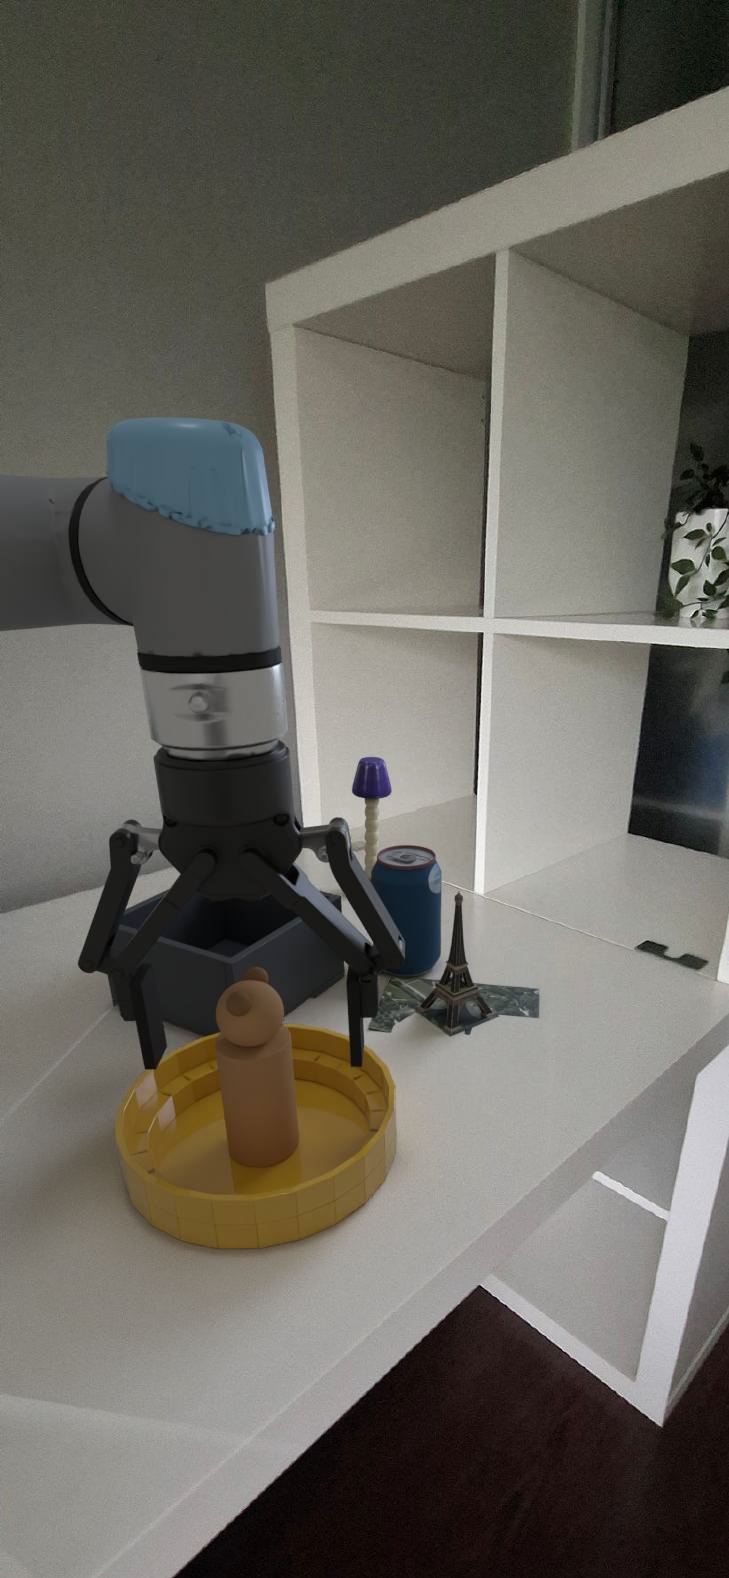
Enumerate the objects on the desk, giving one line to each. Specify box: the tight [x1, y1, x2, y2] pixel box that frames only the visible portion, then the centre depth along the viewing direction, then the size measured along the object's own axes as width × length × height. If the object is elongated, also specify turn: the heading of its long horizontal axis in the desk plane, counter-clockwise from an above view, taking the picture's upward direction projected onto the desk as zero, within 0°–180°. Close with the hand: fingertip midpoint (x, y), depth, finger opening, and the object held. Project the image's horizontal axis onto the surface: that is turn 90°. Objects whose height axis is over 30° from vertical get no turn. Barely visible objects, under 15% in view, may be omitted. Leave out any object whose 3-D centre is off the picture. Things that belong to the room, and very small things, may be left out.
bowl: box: [114, 1023, 397, 1250], centre depth 57 cm, size 19×19×4 cm
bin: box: [107, 888, 346, 1037], centre depth 76 cm, size 16×16×9 cm
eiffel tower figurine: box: [368, 892, 541, 1038], centre depth 71 cm, size 15×10×13 cm
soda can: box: [371, 844, 443, 978], centre depth 80 cm, size 7×7×12 cm
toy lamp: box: [351, 756, 393, 882], centre depth 96 cm, size 5×5×17 cm
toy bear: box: [215, 967, 299, 1167], centre depth 55 cm, size 5×5×14 cm
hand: (257, 1056), depth 54 cm, fingers open, 13 cm apart
